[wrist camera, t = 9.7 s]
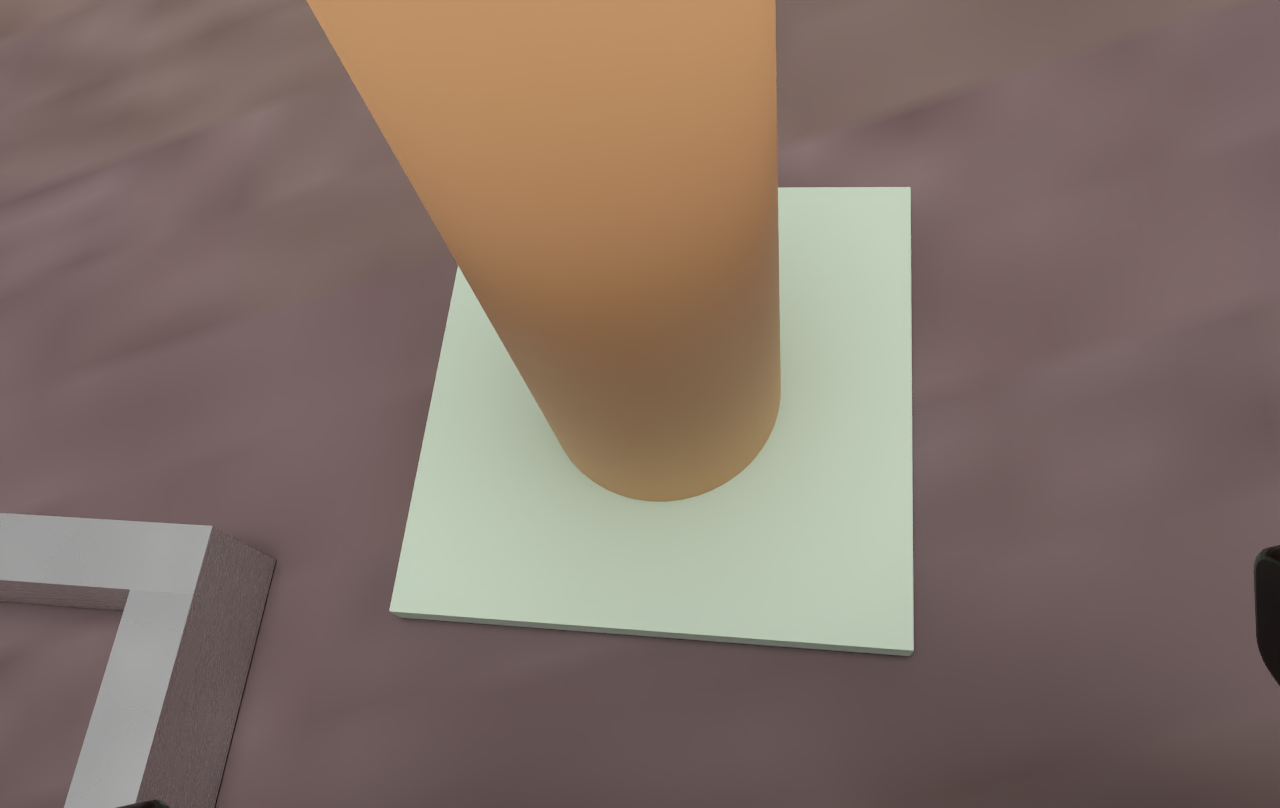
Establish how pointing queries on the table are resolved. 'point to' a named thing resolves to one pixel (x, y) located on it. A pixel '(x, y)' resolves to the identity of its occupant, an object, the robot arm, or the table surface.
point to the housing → (149, 645)
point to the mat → (716, 520)
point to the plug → (601, 209)
